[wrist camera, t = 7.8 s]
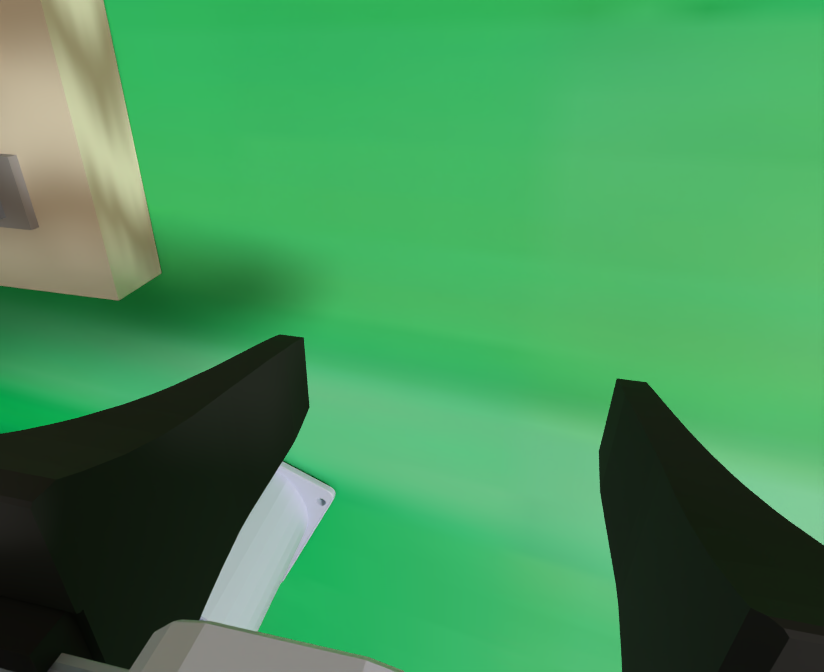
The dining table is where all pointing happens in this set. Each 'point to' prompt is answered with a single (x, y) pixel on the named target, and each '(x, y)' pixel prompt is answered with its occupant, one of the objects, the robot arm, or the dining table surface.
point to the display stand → (68, 156)
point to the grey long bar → (2, 212)
